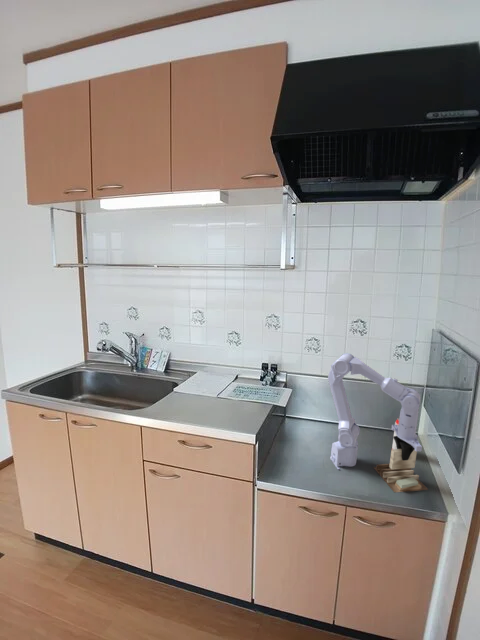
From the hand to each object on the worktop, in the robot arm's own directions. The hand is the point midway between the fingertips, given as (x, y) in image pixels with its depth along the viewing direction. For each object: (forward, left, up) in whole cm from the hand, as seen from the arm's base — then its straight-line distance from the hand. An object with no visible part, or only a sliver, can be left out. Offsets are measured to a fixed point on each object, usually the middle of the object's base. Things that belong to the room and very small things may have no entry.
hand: (403, 457), depth 121 cm
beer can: (+10, +16, -10) cm, 21 cm away
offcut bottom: (0, -4, -8) cm, 10 cm away
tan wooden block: (0, 0, -4) cm, 4 cm away
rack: (0, +1, -10) cm, 10 cm away
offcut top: (-1, -4, -7) cm, 9 cm away
